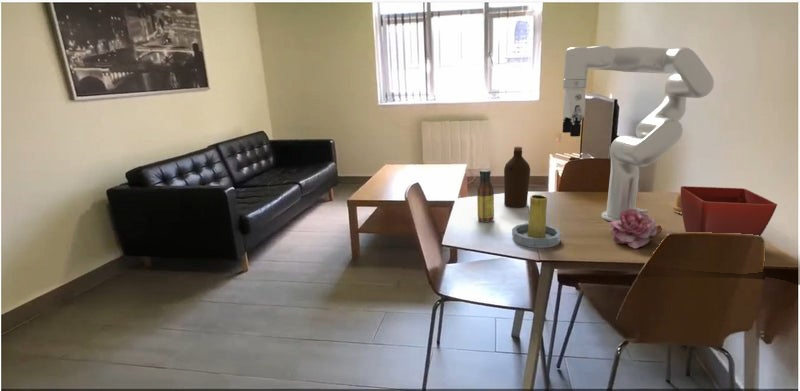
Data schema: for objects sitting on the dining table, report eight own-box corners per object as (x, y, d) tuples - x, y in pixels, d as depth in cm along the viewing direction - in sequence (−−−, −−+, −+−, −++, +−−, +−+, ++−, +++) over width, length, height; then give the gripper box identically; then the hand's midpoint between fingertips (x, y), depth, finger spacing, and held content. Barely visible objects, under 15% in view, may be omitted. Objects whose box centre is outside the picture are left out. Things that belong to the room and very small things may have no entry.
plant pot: (735, 235, 147) (744, 187, 142) (767, 258, 129) (779, 204, 125) (672, 232, 151) (679, 185, 147) (695, 254, 133) (703, 201, 129)
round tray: (553, 231, 156) (553, 223, 155) (565, 248, 141) (565, 239, 140) (509, 231, 157) (509, 223, 156) (516, 247, 142) (517, 239, 141)
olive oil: (528, 209, 181) (532, 149, 174) (502, 208, 184) (504, 149, 177) (527, 201, 191) (530, 145, 184) (503, 200, 193) (505, 145, 187)
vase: (546, 240, 146) (549, 199, 142) (527, 239, 147) (529, 199, 143) (544, 233, 151) (547, 194, 147) (526, 233, 152) (528, 194, 149)
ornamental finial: (670, 213, 171) (674, 208, 176) (693, 216, 166) (696, 212, 172) (673, 193, 169) (677, 189, 174) (696, 196, 164) (699, 192, 169)
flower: (599, 224, 153) (609, 200, 148) (642, 229, 152) (654, 206, 147) (611, 251, 141) (622, 227, 135) (658, 257, 140) (671, 233, 134)
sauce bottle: (495, 218, 171) (497, 169, 165) (491, 223, 165) (493, 172, 160) (479, 216, 174) (480, 168, 168) (474, 221, 168) (475, 171, 163)
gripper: (594, 85, 142) (589, 137, 146) (578, 83, 158) (574, 130, 163) (570, 85, 142) (566, 138, 147) (557, 84, 159) (553, 131, 164)
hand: (570, 134), depth 155 cm, fingers open, 9 cm apart
